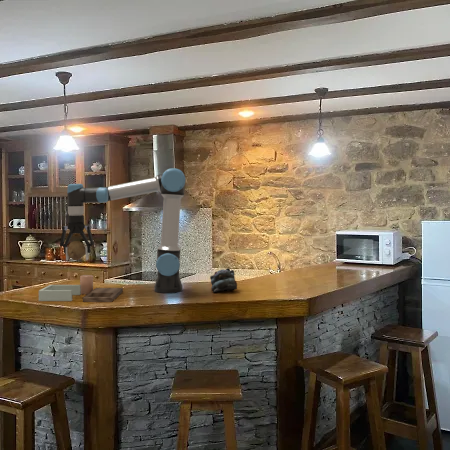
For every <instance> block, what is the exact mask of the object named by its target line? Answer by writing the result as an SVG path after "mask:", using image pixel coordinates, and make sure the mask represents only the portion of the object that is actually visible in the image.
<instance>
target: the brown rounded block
mask: <svg viewBox="0 0 450 450" xmlns="http://www.w3.org/2000/svg"><path fill="white" fill-rule="evenodd" d="M79 278H80V281H79V283H80V284H79V285H81V295H87V294H89V293H90V292H91V291H93V290H94V275H92V274H83V275H80V276H79Z"/></svg>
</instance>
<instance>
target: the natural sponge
mask: <svg viewBox="0 0 450 450" xmlns="http://www.w3.org/2000/svg"><path fill="white" fill-rule="evenodd" d="M67 247H68V256H69V259H72V260H73V261H79V260H80V259H81V258H82V257H84V256H86V248H85V247H86V246H85V243H83V242H82V241H80V240H72V241H71V242H69V243H68V245H67Z"/></svg>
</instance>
